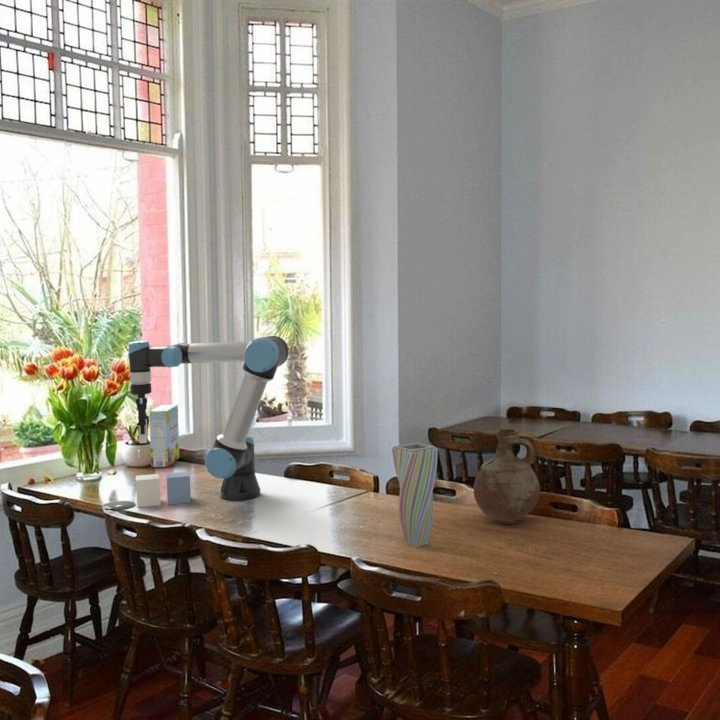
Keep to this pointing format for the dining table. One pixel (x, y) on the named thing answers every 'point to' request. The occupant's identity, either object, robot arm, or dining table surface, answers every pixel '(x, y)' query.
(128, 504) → the coaster
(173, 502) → the pale blue cube
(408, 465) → the vase
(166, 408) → the snack box
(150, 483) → the cream upright block
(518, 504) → the jug
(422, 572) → the dining table surface
